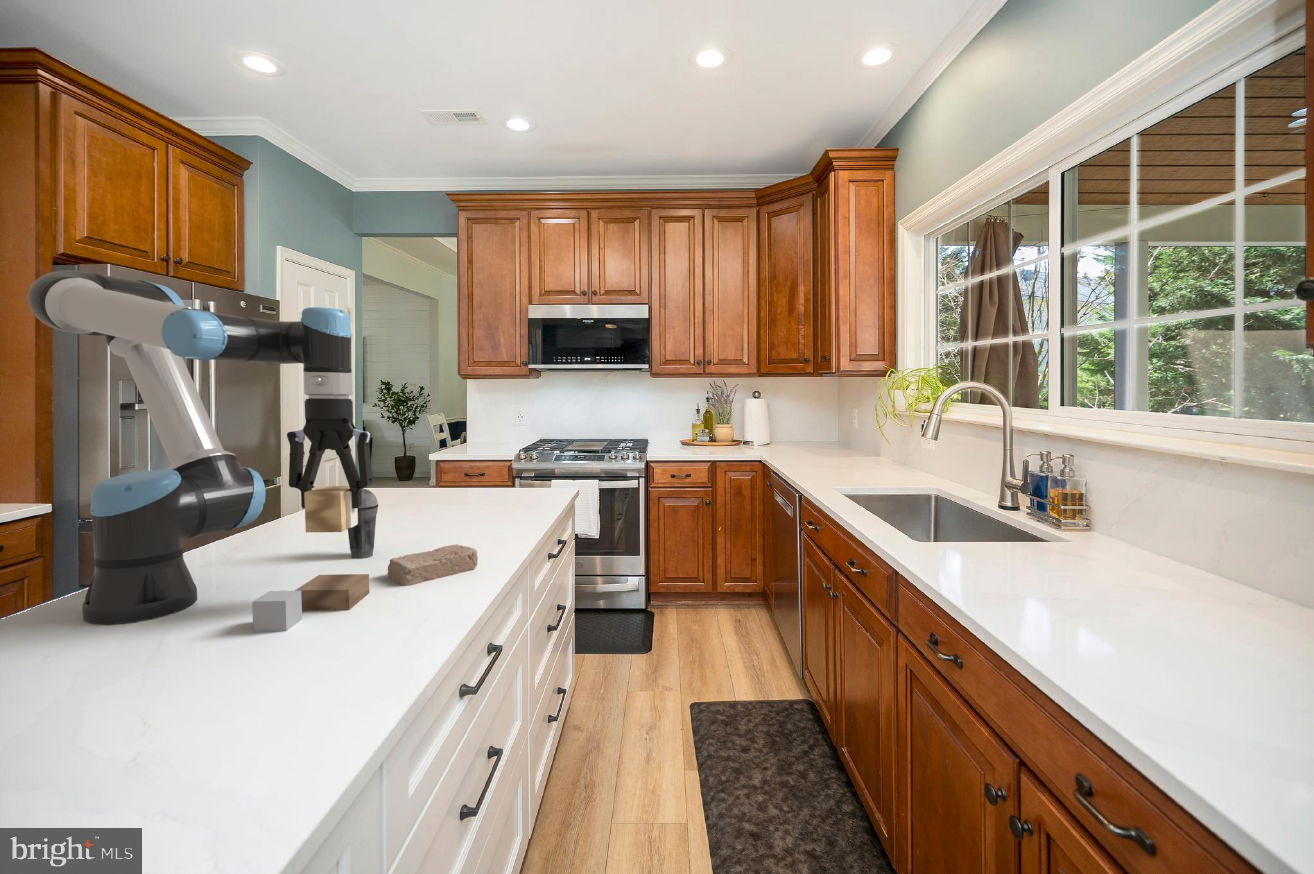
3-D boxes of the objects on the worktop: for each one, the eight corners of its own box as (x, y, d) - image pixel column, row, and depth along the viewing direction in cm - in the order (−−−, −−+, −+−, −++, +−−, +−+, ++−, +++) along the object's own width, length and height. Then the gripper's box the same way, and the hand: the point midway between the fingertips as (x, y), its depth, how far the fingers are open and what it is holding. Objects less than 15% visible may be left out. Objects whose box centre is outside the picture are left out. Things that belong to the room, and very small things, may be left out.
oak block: (305, 532, 105) (304, 492, 104) (324, 523, 112) (323, 486, 111) (341, 532, 105) (340, 492, 105) (358, 523, 112) (356, 486, 112)
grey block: (253, 632, 96) (252, 601, 95) (270, 620, 101) (269, 590, 100) (286, 631, 96) (285, 600, 96) (302, 619, 101) (301, 590, 101)
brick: (406, 588, 118) (405, 564, 118) (385, 579, 124) (385, 556, 123) (479, 570, 131) (479, 549, 131) (458, 563, 136) (458, 542, 136)
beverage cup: (337, 559, 137) (335, 471, 135) (358, 550, 144) (356, 467, 143) (366, 561, 136) (364, 472, 134) (386, 552, 143) (384, 468, 141)
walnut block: (295, 612, 105) (294, 590, 105) (319, 595, 114) (319, 574, 113) (349, 611, 106) (348, 589, 105) (369, 594, 115) (369, 573, 114)
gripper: (260, 396, 102) (265, 531, 104) (376, 398, 104) (379, 530, 106) (283, 396, 110) (288, 522, 112) (391, 397, 111) (394, 521, 113)
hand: (332, 526), depth 109 cm, fingers closed on oak block, 6 cm apart
